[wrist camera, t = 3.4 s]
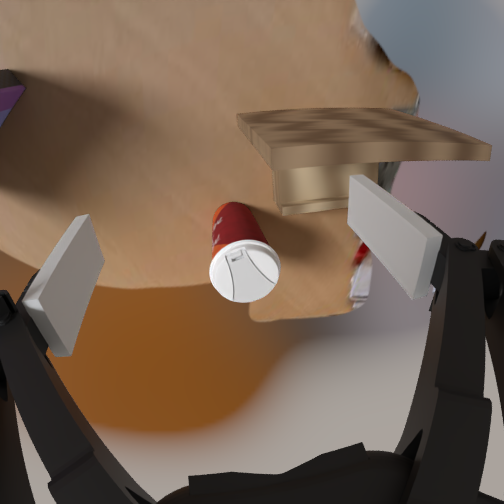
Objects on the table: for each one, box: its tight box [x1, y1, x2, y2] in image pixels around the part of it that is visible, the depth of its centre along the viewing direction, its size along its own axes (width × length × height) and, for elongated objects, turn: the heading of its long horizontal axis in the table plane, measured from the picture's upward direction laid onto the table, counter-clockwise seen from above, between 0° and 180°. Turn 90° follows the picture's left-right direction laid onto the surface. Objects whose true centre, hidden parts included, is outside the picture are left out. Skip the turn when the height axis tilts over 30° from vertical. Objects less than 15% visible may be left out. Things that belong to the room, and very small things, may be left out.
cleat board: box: [237, 108, 492, 216], centre depth 33 cm, size 22×13×20 cm, turn 94°
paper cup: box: [210, 202, 281, 302], centre depth 39 cm, size 8×8×14 cm
